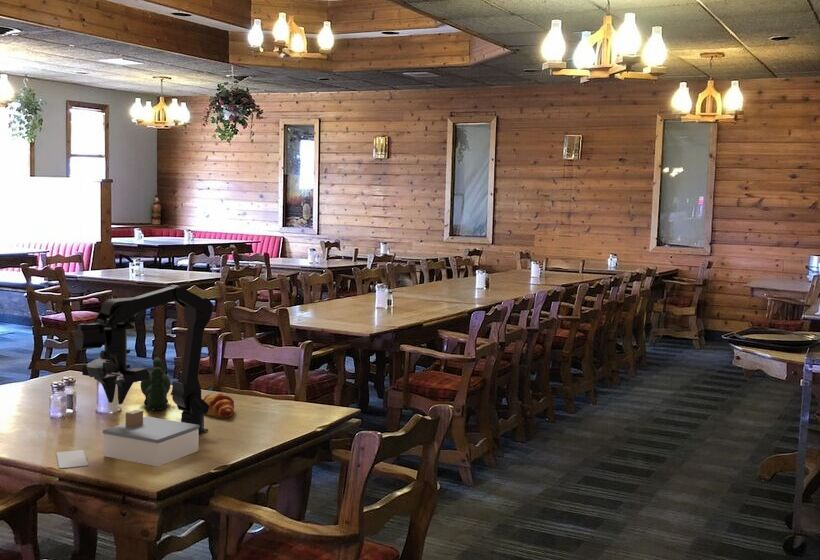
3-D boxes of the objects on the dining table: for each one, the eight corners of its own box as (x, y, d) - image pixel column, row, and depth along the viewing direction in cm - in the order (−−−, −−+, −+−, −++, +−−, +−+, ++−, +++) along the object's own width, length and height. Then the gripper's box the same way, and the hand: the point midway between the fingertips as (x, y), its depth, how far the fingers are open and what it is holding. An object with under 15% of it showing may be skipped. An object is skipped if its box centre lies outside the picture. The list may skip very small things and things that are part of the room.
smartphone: (59, 468, 214) (55, 452, 227) (59, 470, 214) (55, 454, 227) (88, 465, 217) (83, 449, 230) (88, 467, 217) (83, 451, 230)
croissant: (198, 417, 282) (186, 397, 280) (223, 400, 287) (213, 380, 284) (221, 431, 265) (210, 409, 262) (249, 412, 269) (237, 391, 267)
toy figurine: (172, 420, 270) (169, 395, 293) (173, 362, 266) (169, 341, 290) (141, 422, 267) (140, 396, 290) (141, 363, 264) (140, 342, 287)
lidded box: (146, 441, 240) (146, 420, 240) (198, 450, 233) (198, 429, 232) (103, 456, 226) (103, 433, 225) (158, 466, 218) (158, 443, 218)
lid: (147, 419, 240) (147, 404, 239) (199, 427, 233) (199, 412, 232) (102, 433, 225) (102, 417, 224) (157, 443, 217) (157, 426, 217)
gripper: (66, 347, 228) (66, 405, 230) (120, 354, 221) (121, 414, 222) (97, 341, 238) (97, 397, 240) (150, 348, 231) (150, 405, 232)
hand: (115, 403), depth 233 cm, fingers open, 3 cm apart
